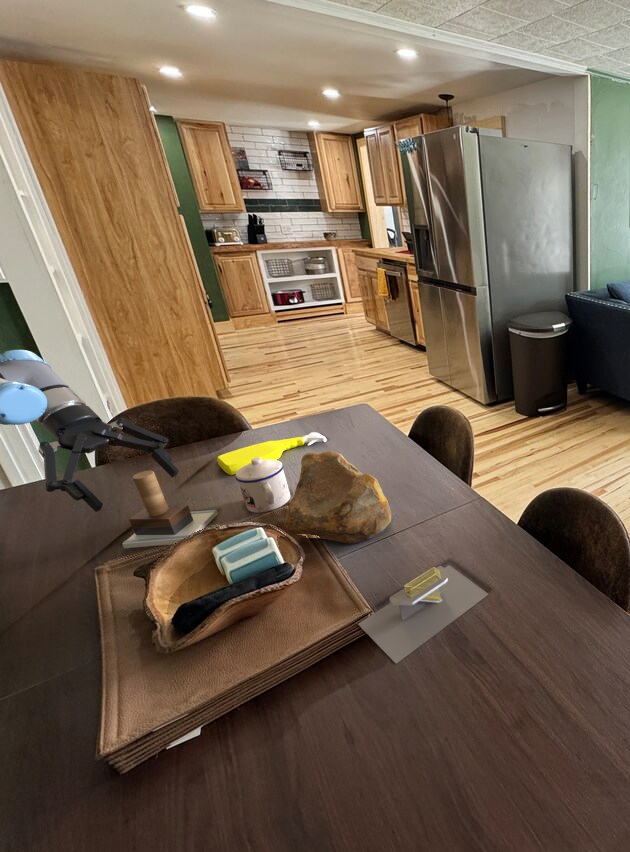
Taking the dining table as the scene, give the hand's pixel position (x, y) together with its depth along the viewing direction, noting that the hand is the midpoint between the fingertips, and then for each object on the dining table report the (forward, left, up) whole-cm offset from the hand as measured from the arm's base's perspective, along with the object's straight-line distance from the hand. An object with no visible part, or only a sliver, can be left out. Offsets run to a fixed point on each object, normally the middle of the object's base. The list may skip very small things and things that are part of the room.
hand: (139, 490), depth 99 cm
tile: (+5, -2, -9) cm, 11 cm away
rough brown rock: (+39, -7, -9) cm, 40 cm away
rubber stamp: (+4, -3, -8) cm, 9 cm away
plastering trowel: (+62, -32, -9) cm, 71 cm away
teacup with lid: (+21, +5, -9) cm, 23 cm away
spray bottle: (+11, +31, -9) cm, 34 cm away
